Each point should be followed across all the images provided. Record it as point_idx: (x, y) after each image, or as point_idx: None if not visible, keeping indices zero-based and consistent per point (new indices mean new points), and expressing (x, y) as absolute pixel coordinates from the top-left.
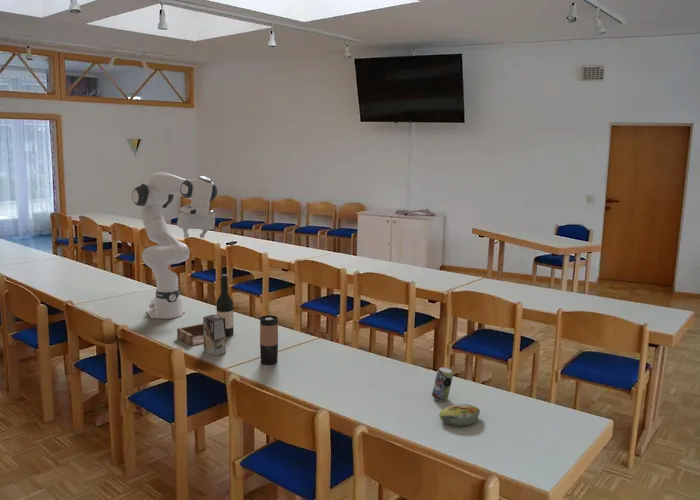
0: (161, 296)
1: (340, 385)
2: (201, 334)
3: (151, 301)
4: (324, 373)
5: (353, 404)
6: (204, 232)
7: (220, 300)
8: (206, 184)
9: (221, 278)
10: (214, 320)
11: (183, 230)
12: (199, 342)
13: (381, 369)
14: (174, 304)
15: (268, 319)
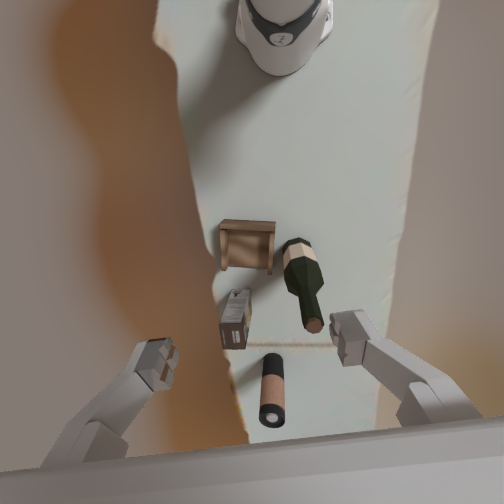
0: (249, 14)
1: (286, 422)
2: (262, 232)
3: None
4: (295, 404)
5: (267, 439)
6: (390, 384)
7: (290, 288)
8: None
9: (302, 320)
10: (225, 347)
11: (81, 417)
12: (240, 263)
13: (344, 427)
14: (286, 50)
15: (268, 420)
